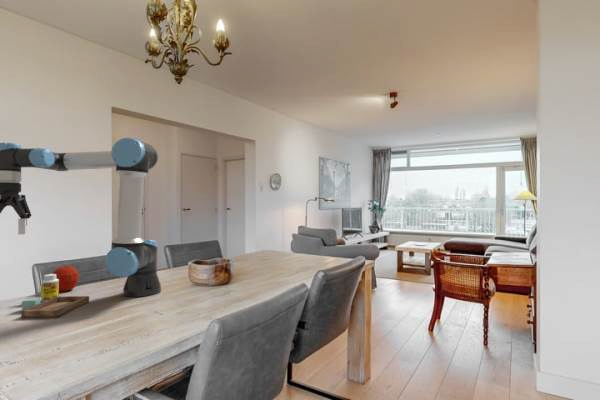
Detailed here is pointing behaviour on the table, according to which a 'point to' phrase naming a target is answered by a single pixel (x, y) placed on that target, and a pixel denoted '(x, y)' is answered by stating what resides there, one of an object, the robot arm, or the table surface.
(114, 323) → the table surface
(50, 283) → the supplement bottle
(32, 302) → the teal block
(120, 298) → the table surface
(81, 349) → the table surface
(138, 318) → the table surface
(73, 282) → the apple
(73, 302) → the tray
